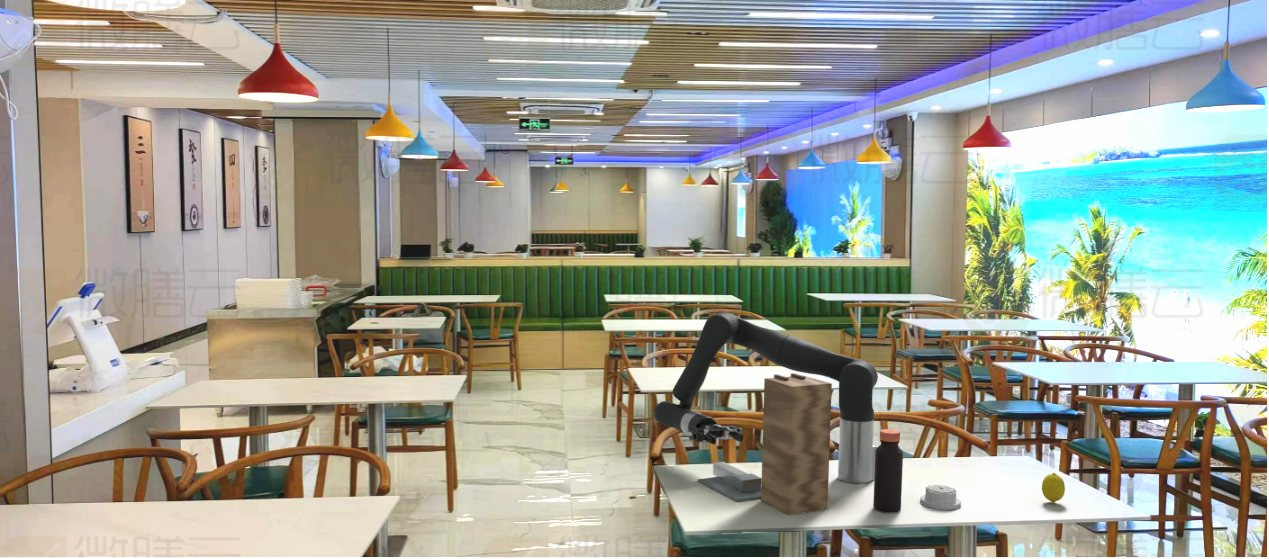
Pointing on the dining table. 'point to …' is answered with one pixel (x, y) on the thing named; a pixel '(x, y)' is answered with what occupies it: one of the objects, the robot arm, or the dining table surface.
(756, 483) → the grey block
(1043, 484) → the lemon
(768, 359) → the robot arm
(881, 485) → the bottle
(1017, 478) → the dining table surface
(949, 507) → the grey cake on plate
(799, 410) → the tall wooden block
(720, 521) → the dining table surface
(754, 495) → the mat
